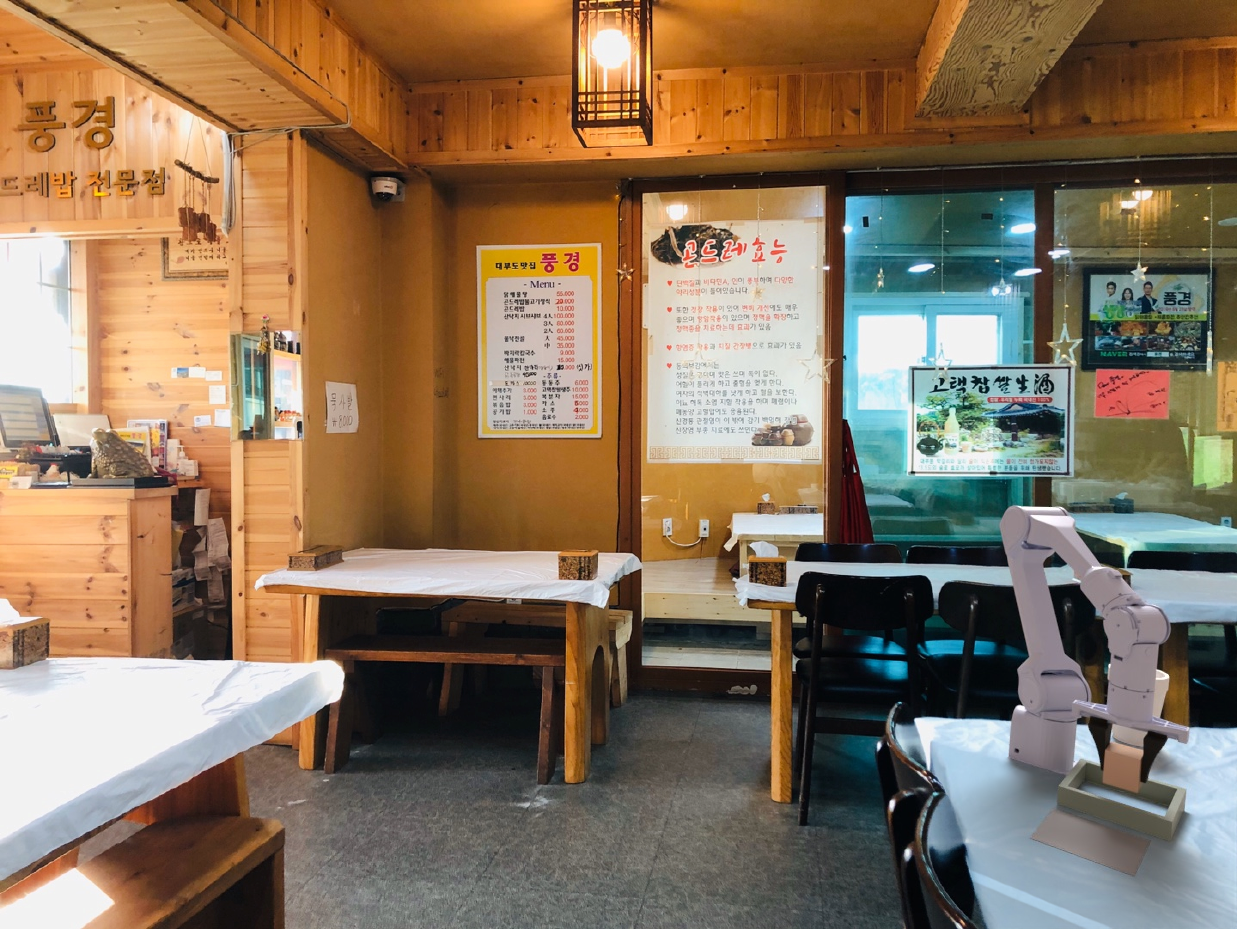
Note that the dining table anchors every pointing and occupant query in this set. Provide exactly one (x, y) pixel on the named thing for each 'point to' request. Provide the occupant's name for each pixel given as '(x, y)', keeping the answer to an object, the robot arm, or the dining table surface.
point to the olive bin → (1119, 811)
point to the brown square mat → (1092, 841)
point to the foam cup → (1161, 688)
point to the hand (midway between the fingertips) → (1123, 774)
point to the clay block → (1123, 767)
